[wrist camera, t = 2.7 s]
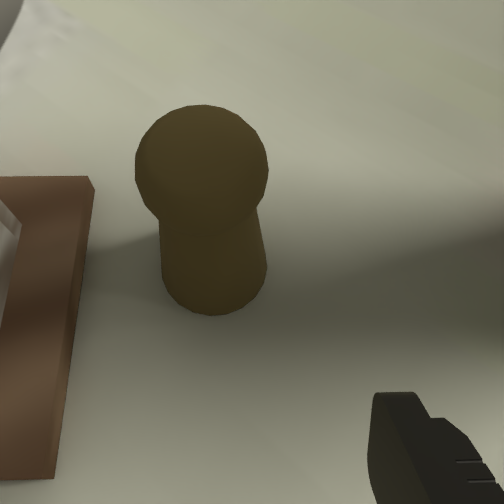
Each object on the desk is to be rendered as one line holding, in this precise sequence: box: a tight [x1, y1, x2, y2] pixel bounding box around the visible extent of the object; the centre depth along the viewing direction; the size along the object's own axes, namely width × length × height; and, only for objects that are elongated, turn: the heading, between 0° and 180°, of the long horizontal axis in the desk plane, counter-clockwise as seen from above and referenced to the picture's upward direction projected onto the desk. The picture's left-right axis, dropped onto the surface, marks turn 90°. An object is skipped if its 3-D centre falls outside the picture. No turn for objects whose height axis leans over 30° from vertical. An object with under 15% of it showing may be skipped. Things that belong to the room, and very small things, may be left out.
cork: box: [135, 105, 269, 316], centre depth 22 cm, size 6×6×11 cm
